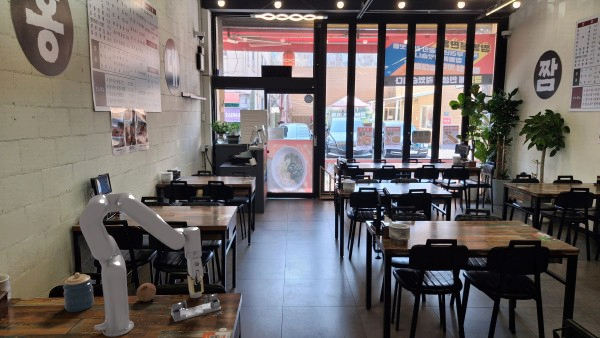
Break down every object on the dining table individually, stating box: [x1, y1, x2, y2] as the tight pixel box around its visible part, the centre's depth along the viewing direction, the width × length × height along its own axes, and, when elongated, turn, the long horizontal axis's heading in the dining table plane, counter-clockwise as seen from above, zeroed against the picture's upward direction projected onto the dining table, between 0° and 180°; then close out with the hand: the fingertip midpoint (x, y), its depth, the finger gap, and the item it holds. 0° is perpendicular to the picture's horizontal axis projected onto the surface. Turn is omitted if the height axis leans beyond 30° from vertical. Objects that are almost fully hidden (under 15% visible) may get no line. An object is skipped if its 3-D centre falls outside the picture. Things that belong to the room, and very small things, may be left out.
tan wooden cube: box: [187, 276, 205, 295], centre depth 187 cm, size 6×6×7 cm
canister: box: [62, 272, 95, 313], centre depth 196 cm, size 13×13×18 cm
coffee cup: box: [186, 268, 203, 299], centre depth 206 cm, size 8×8×15 cm
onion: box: [136, 282, 157, 303], centre depth 202 cm, size 10×9×10 cm
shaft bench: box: [170, 293, 222, 323], centre depth 189 cm, size 22×8×7 cm, turn 121°
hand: (196, 289), depth 188 cm, fingers closed on tan wooden cube, 5 cm apart
